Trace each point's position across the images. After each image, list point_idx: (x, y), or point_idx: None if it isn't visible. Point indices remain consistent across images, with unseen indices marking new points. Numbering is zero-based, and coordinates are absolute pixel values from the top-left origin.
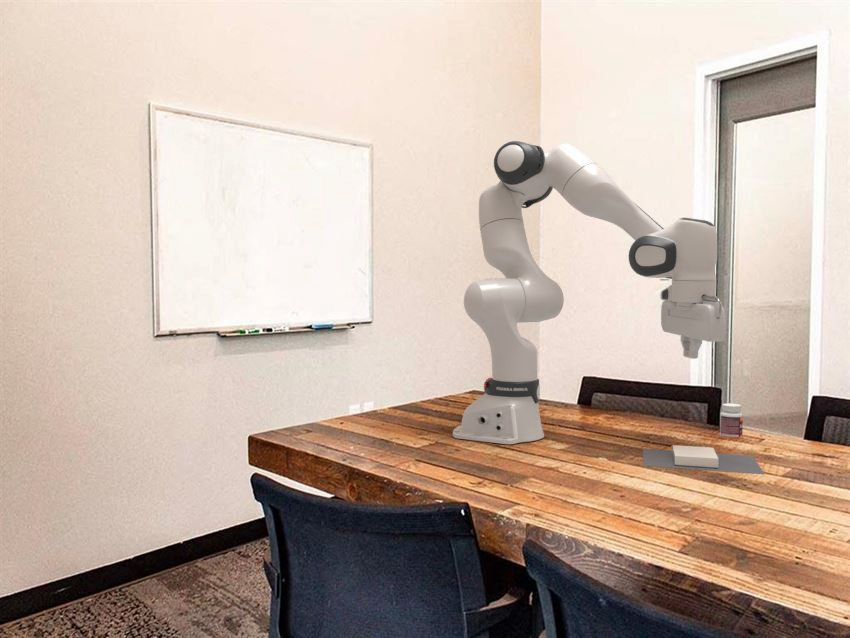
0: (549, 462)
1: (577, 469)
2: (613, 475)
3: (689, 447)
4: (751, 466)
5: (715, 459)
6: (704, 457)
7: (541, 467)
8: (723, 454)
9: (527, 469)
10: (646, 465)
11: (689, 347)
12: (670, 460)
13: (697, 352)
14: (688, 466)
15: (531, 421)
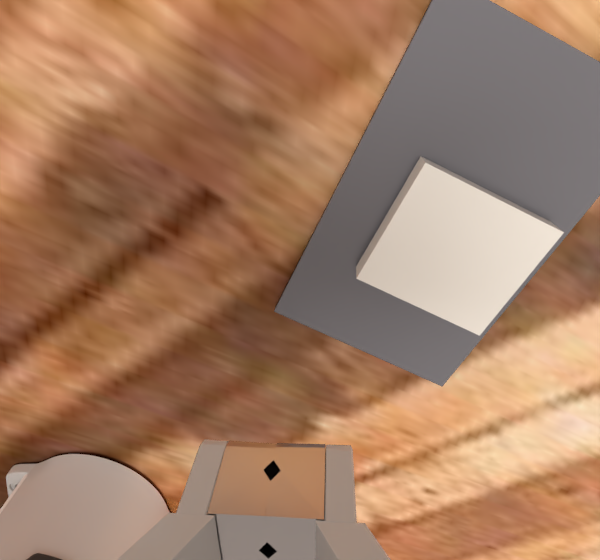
0: None
1: (403, 493)
2: (470, 456)
3: (398, 243)
4: (574, 89)
5: (556, 239)
6: (532, 267)
7: None
8: (395, 93)
9: None
10: (444, 380)
11: (204, 558)
12: None
13: (352, 500)
14: None
15: (127, 534)
